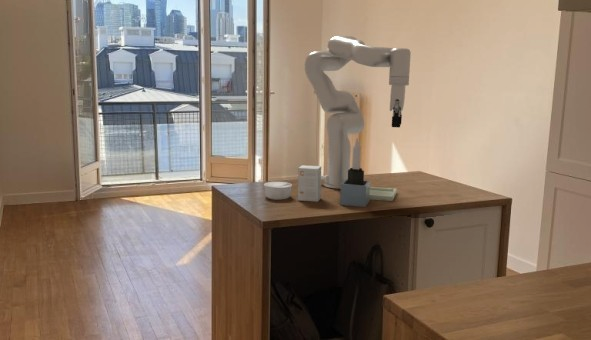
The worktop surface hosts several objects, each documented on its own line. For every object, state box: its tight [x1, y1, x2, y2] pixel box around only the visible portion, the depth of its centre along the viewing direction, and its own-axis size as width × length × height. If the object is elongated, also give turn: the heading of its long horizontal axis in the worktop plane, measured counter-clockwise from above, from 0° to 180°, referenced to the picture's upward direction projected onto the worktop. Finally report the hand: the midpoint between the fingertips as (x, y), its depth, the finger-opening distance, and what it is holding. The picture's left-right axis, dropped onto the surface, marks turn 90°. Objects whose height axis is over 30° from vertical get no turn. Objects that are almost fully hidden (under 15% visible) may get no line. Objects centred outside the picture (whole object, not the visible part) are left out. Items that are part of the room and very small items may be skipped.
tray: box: [369, 186, 397, 202], centre depth 243 cm, size 15×15×2 cm
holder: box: [339, 179, 371, 208], centre depth 230 cm, size 10×10×8 cm
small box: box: [297, 164, 322, 203], centre depth 234 cm, size 8×6×13 cm
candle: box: [348, 138, 365, 185], centre depth 228 cm, size 5×5×25 cm
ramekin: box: [263, 181, 293, 201], centre depth 238 cm, size 11×11×5 cm
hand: (396, 125), depth 233 cm, fingers open, 9 cm apart
